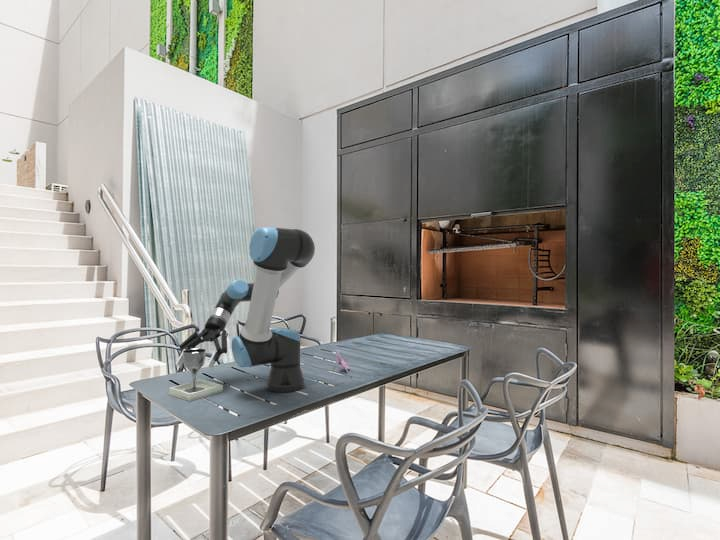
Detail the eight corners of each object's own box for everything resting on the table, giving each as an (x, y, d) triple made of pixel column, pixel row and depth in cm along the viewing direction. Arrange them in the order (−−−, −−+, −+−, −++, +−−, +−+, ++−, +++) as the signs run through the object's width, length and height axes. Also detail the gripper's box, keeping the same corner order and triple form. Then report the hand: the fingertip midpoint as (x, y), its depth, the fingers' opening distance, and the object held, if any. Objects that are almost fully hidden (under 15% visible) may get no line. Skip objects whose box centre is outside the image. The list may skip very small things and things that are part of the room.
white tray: (222, 391, 149) (222, 385, 149) (189, 401, 138) (189, 394, 138) (202, 385, 157) (202, 379, 157) (169, 394, 146) (169, 387, 146)
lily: (338, 378, 171) (349, 359, 172) (319, 365, 177) (329, 346, 178) (350, 380, 181) (360, 362, 182) (331, 367, 187) (341, 349, 188)
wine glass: (178, 391, 146) (178, 351, 146) (195, 385, 153) (195, 347, 153) (192, 394, 143) (192, 353, 143) (210, 388, 150) (210, 349, 150)
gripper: (248, 328, 160) (226, 374, 145) (195, 325, 166) (170, 369, 152) (241, 316, 155) (218, 363, 140) (187, 314, 161) (160, 359, 147)
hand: (193, 366), depth 146 cm, fingers open, 13 cm apart
